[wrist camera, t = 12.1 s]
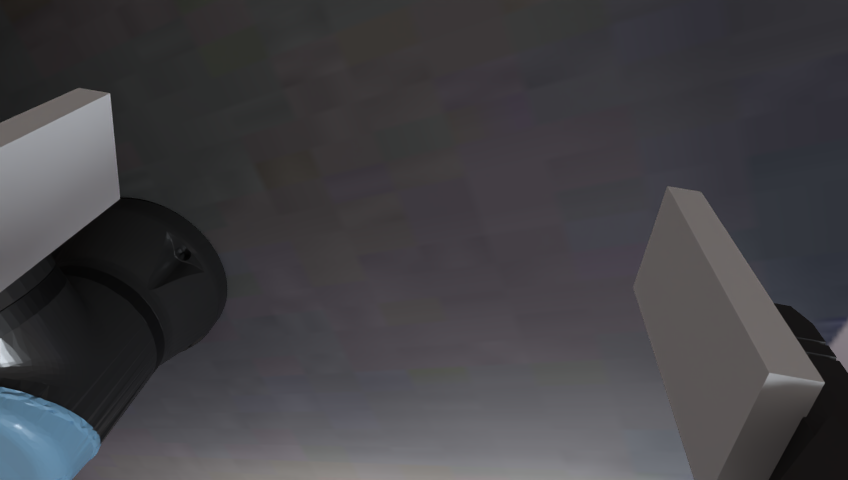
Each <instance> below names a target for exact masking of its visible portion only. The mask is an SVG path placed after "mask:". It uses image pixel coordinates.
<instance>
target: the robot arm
mask: <svg viewBox="0 0 848 480" xmlns="http://www.w3.org/2000/svg"><path fill="white" fill-rule="evenodd" d="M633 289H634V292H635V295H636V298H637V301H638V304H639V308H640V311H641V314H642V317H643V320H644V323H645V327H646V330H647V333H648V336H649V339H650V342H651V345H652V349H653V352H654V355H655V358H656V361H657V364H658V367H659V371H660V374H661V377H662V380H663V383H664V386H665V389H666V393H667V396H668V399H669V402H670V405H671V408H672V411H673V415H674V418H675V421H676V424H677V427H678V430H679V433H680V437H681V440H682V443H683V446H684V449H685V452H686V455H687V459H688V462H689V465H690V468H691V471H692V474H693V477H694V480H848V373H847V372H846V370H845V368H844V367H843V366H842V364H841V363H840V361H836V356H835V354H834V353H833V352H832V350H831V349H830V347H829V346H827V345H825V343H826V342H825V340H824V339H823V338H822V336H821V335H820V333H819V332H818V330H817V329H816V328H815V326H814V325H813V324H812V323H811V322H810V321H809V320H807V319H806V318H805V317H804V316H802V315H801V314H800V313H798V312H797V311H796V310H795V309H793V308H792V307H791V306H787V305H781V304H775V303H773V302H772V300H771V299H770V297H769V296H768V294H767V293H766V291H765V289H764V288H763V286H762V285H761V283H760V282H759V280H758V279H757V277H756V276H755V274H754V273H753V271H752V269H751V268H750V266H749V265H748V263H747V262H746V260H745V259H744V257H743V256H742V254H741V253H740V251H739V249H738V248H737V246H736V245H735V243H734V242H733V240H732V239H731V237H730V236H729V234H728V233H727V231H726V229H725V228H724V226H723V225H722V223H721V222H720V220H719V219H718V217H717V216H716V214H715V213H714V211H713V209H712V208H711V206H710V205H709V203H708V202H707V200H706V199H705V197H704V196H703V194H702V193H701V192H699V191H693V190H687V189H681V188H675V187H669V186H667V189H666V192H665V195H664V198H663V201H662V204H661V207H660V210H659V213H658V216H657V219H656V221H655V224H654V227H653V230H652V233H651V236H650V239H649V242H648V245H647V248H646V251H645V254H644V257H643V260H642V263H641V266H640V269H639V272H638V275H637V278H636V281H635V284H634V287H633ZM226 298H227V281H226V276H225V272H224V268H223V266H222V263H221V261H220V259H219V257H218V255H217V253H216V251H215V250H214V248H213V247H212V245H211V244H210V242H209V241H208V240H207V239H206V237H205V236H204V235H203V234H202V233H201V232H200V231H199V230H198V229H197V228H196V227H195V226H193V225H192V224H191V223H190V222H188V221H187V220H186V219H184V218H183V217H181V216H180V215H178V214H176V213H175V212H173V211H171V210H169V209H167V208H165V207H162V206H160V205H157V204H154V203H151V202H147V201H143V200H137V199H120V192H119V181H118V171H117V161H116V150H115V140H114V130H113V119H112V109H111V99H110V93H106V92H100V91H94V90H88V89H82V88H77V89H75V90H73V91H71V92H68V93H66V94H64V95H62V96H59V97H57V98H55V99H53V100H51V101H48V102H46V103H44V104H42V105H39V106H37V107H35V108H33V109H30V110H28V111H26V112H24V113H21V114H19V115H17V116H15V117H12V118H10V119H8V120H6V121H4V122H1V123H0V480H72V479H73V478H74V476H75V475H76V474H77V473H78V472H79V471H80V470H81V469H82V468H83V466H84V465H85V464H86V463H87V462H88V461H89V460H90V459H92V458H93V457H94V456H95V455H96V454H97V452H98V450H99V447H100V445H101V443H102V442H103V441H104V439H105V438H106V437H107V435H108V434H109V433H110V431H111V430H112V429H113V427H114V426H115V424H116V423H117V422H118V420H119V419H120V418H121V416H122V415H123V414H124V412H125V411H126V410H127V408H128V407H129V406H130V404H131V403H132V401H133V400H134V399H135V397H136V396H137V395H138V393H139V392H140V391H141V389H142V388H143V387H144V385H145V384H146V382H147V381H148V380H149V378H150V377H151V376H152V374H153V373H154V372H155V370H156V369H157V368H158V366H160V365H161V364H163V363H164V362H166V361H167V360H169V359H171V358H172V357H174V356H175V355H177V354H178V353H180V352H182V351H185V350H187V349H188V348H190V347H192V346H194V345H195V344H197V343H198V342H199V341H201V340H202V339H203V338H204V337H205V336H206V335H207V334H208V333H209V331H210V330H211V328H212V327H213V326H214V324H215V323H216V321H217V320H218V318H219V317H220V315H221V314H222V311H223V309H224V306H225V303H226Z"/></svg>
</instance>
